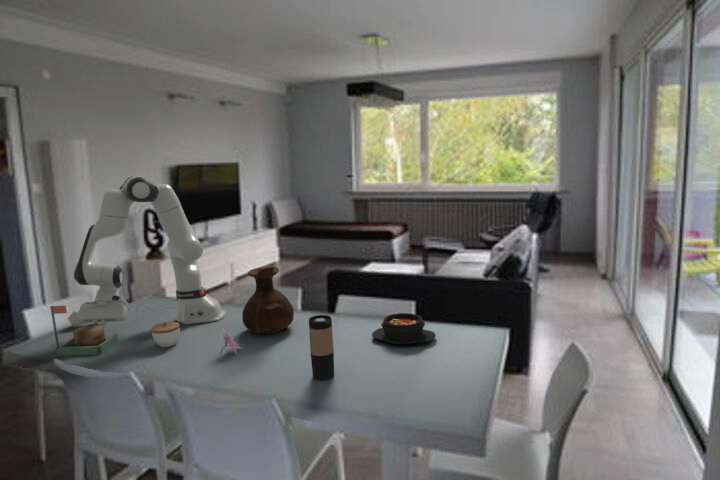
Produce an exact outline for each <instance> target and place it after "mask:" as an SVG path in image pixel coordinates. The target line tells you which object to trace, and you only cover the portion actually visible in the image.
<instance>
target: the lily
mask: <svg viewBox="0 0 720 480" xmlns="http://www.w3.org/2000/svg"><path fill="white" fill-rule="evenodd" d="M222 330H223V334H224V335H223V334H220V335H219V336H220V337H221V338H222V339H223V341H224V346H223V347H222V348H221V350H220V352H219V354H222V351H223V350H224V349H225V347H227V348H228V349H232V350H233V352H234V354H235V355H238V352H237V349H238V350H242V347H241V346H240V345H239V344H238V343H237V342H236V341H235V340H234V338H233V336H232V335H230V334H229V333H228V332H227V330H226V329H225V328H224V327H222Z"/></svg>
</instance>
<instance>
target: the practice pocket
mask: <svg viewBox="0 0 720 480" xmlns="http://www.w3.org/2000/svg"><path fill="white" fill-rule="evenodd" d="M49 307H50V313H51V317H52V319H51V320H52V326H53V332H54V338H55V344H56V356H57V357H60V356H62V357H63V356H85V355H86V356H87V355H88V356H89V355H101V354H102V353H104V352H105V351H106V350H107V349H109V348H110V347H112V346H113V345H114V344H115V343H117V342H118V341H119V337H118V336H119V335H118V333H114V334H113V335H111V336H110V337H108V338H106V339H105V341H104V342H103V343H101V344H100V345H99V346H84V347H75V343H74V336H73V337H72V338H70V339H69V340H67V341H66V342H64V343H63V344H61V345H59V343H60V342H59V337H58V331H57V326H56V323H57V322H56V317H55V315H59V314H60V315H61V314H67V312H68V310H67V306H66V305H50V306H49Z"/></svg>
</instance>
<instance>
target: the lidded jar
mask: <svg viewBox="0 0 720 480" xmlns="http://www.w3.org/2000/svg"><path fill="white" fill-rule="evenodd" d="M180 326H181V325H180V322H178V321H164V322H159V323H156V324H155V325H153V326H152V327H150V328H151V329H150V330H151V335H152V339H153V341H154V342H155V344H156V345H158V346H159V348H168V347H169V348H170V347H172V346H175V345H176V343H177V342H178V340H179V338H180V334H181V333H180V332H181V330H180V329H181V328H180Z"/></svg>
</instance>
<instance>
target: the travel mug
mask: <svg viewBox="0 0 720 480" xmlns="http://www.w3.org/2000/svg"><path fill="white" fill-rule="evenodd" d="M332 323H333V321H332V317H331V316H330V315H327V314H318V315H313V316H311V317H309V318H308V332H309V348H310V351H309V352H310V358H311V359H310V361H311V371H312V378H313V379H314V380H316V381H320V382H321V381H329V380H332V379H333V378H334V377H335V353H334V352H335V351H334V349H335V348H334V335H333V324H332Z"/></svg>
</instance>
